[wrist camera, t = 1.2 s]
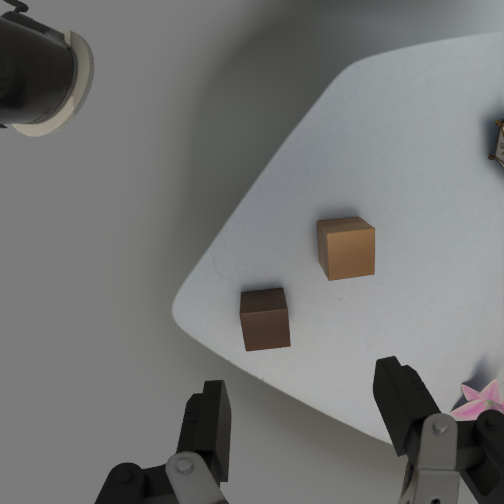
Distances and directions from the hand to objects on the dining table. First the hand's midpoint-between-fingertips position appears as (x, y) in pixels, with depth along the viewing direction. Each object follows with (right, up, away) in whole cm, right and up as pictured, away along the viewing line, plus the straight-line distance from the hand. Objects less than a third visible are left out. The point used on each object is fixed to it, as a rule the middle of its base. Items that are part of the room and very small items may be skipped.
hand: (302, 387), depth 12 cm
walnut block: (-1, 0, +19) cm, 19 cm away
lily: (+32, -15, +24) cm, 43 cm away
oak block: (+6, +7, +16) cm, 19 cm away
